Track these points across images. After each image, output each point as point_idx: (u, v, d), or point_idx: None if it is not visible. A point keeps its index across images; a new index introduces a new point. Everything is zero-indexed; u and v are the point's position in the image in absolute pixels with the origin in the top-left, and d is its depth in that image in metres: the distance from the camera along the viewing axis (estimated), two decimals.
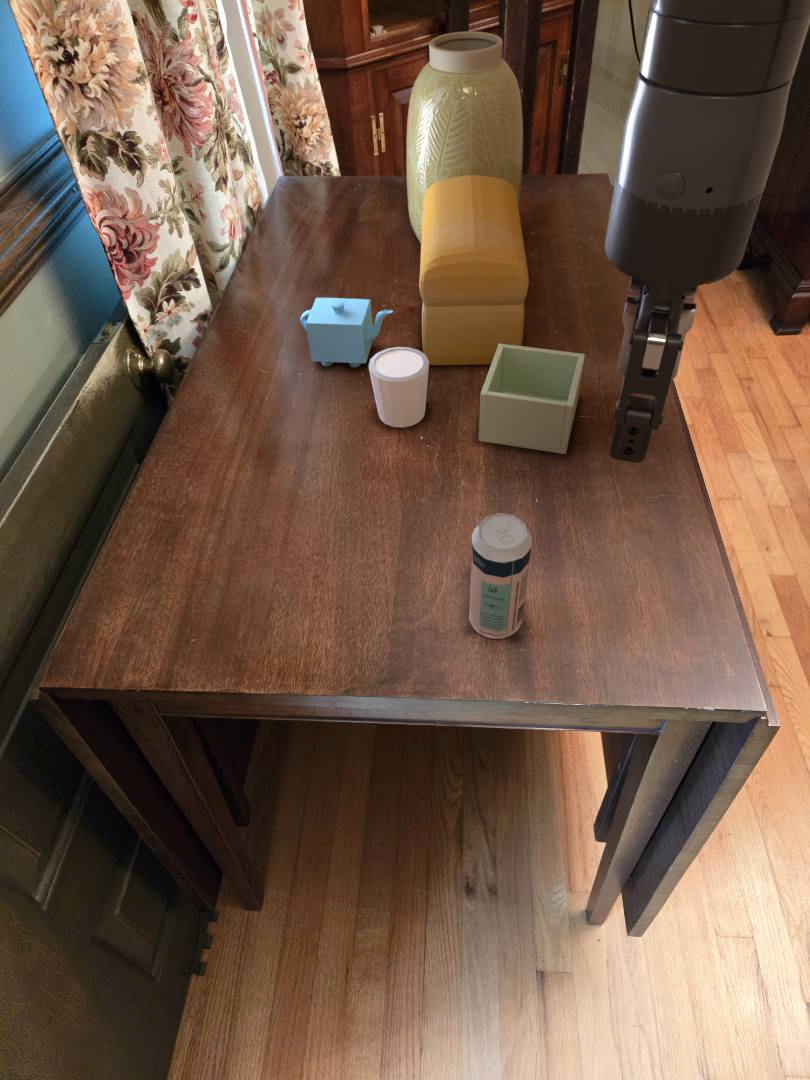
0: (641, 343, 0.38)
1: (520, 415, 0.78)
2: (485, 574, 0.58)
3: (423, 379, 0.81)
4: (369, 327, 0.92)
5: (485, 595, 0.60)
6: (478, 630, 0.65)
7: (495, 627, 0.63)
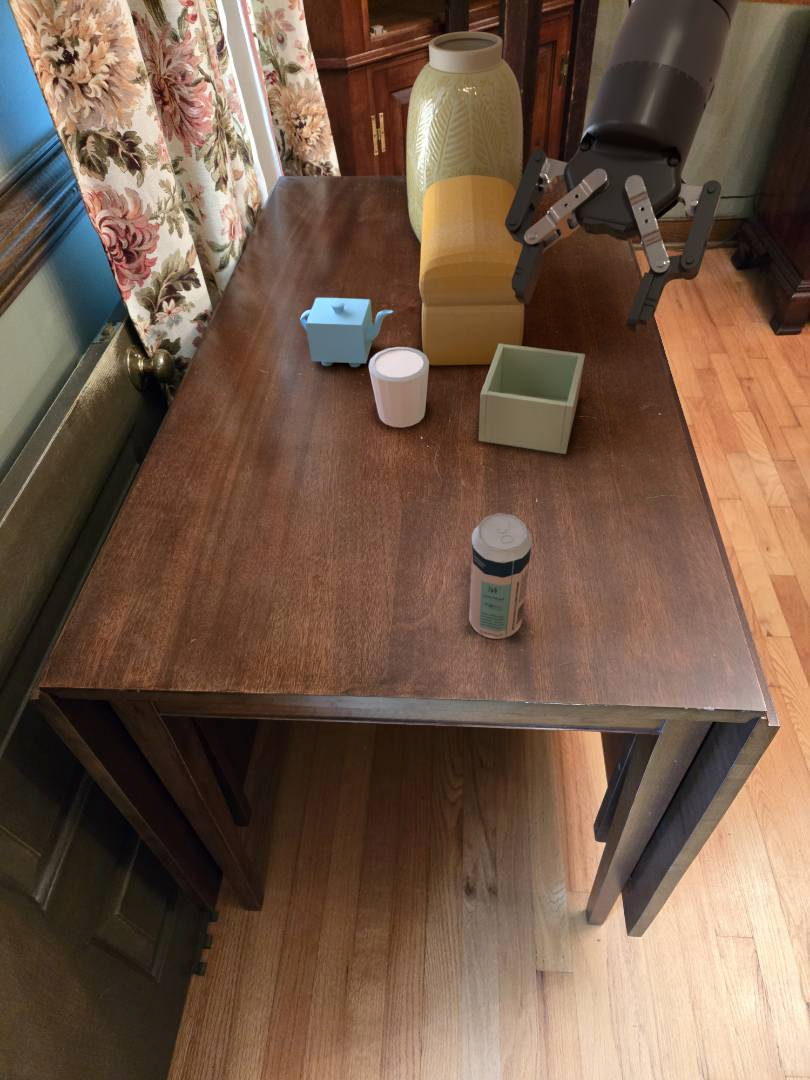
0: None
1: (520, 415, 0.78)
2: (485, 574, 0.58)
3: (423, 379, 0.81)
4: (369, 327, 0.92)
5: (485, 595, 0.60)
6: (478, 630, 0.65)
7: (495, 627, 0.63)
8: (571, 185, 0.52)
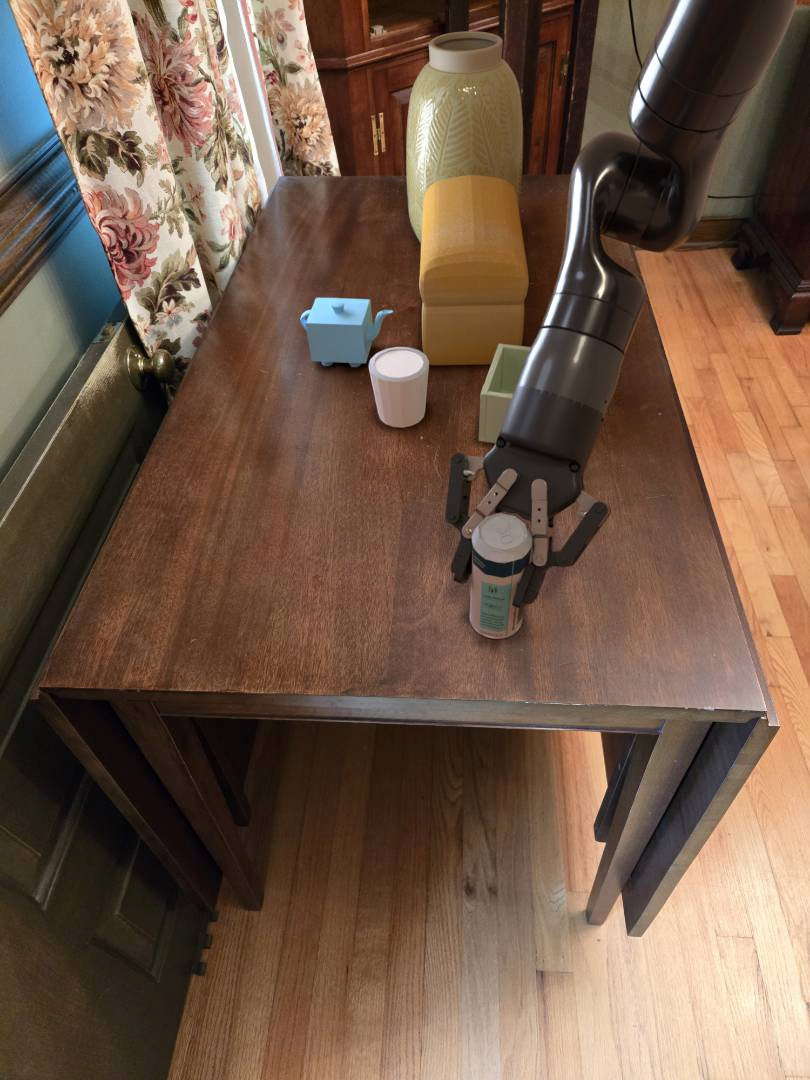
0: None
1: None
2: (485, 574, 0.58)
3: (423, 379, 0.81)
4: (369, 327, 0.92)
5: (485, 595, 0.60)
6: (478, 630, 0.65)
7: (495, 627, 0.63)
8: (488, 475, 0.59)
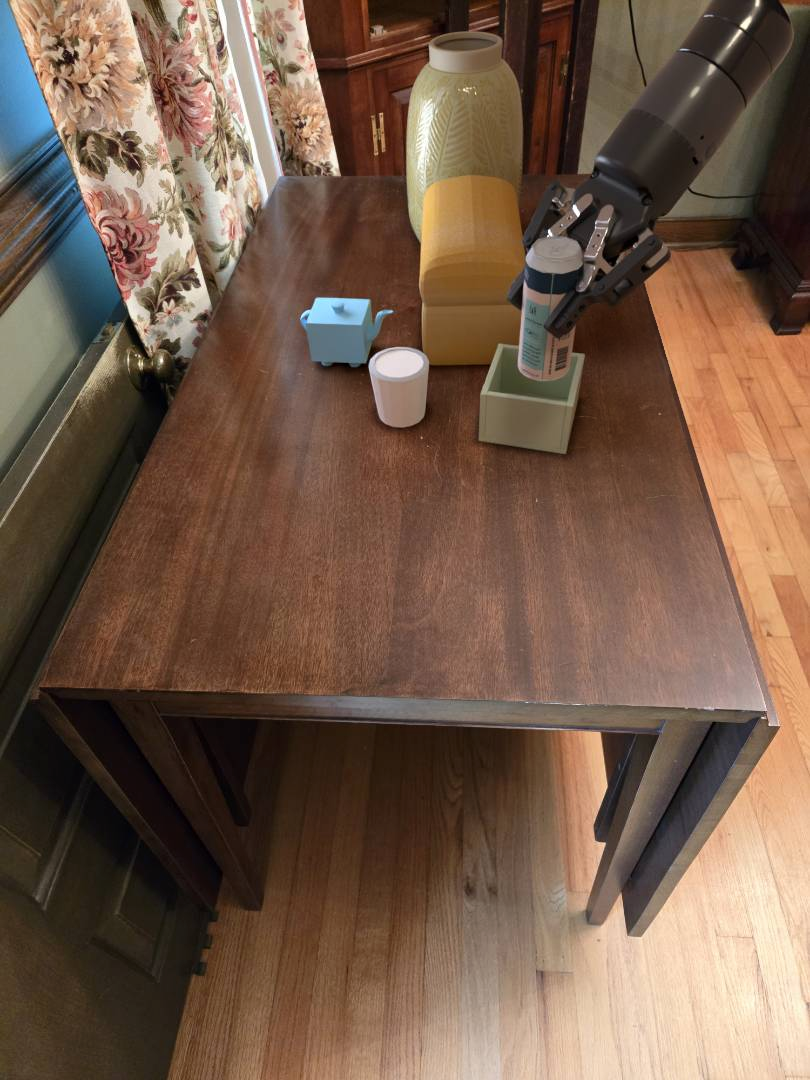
0: None
1: (520, 415, 0.78)
2: (528, 288, 0.61)
3: (423, 379, 0.81)
4: (369, 327, 0.92)
5: (527, 318, 0.63)
6: (520, 369, 0.67)
7: (532, 363, 0.65)
8: (572, 204, 0.61)
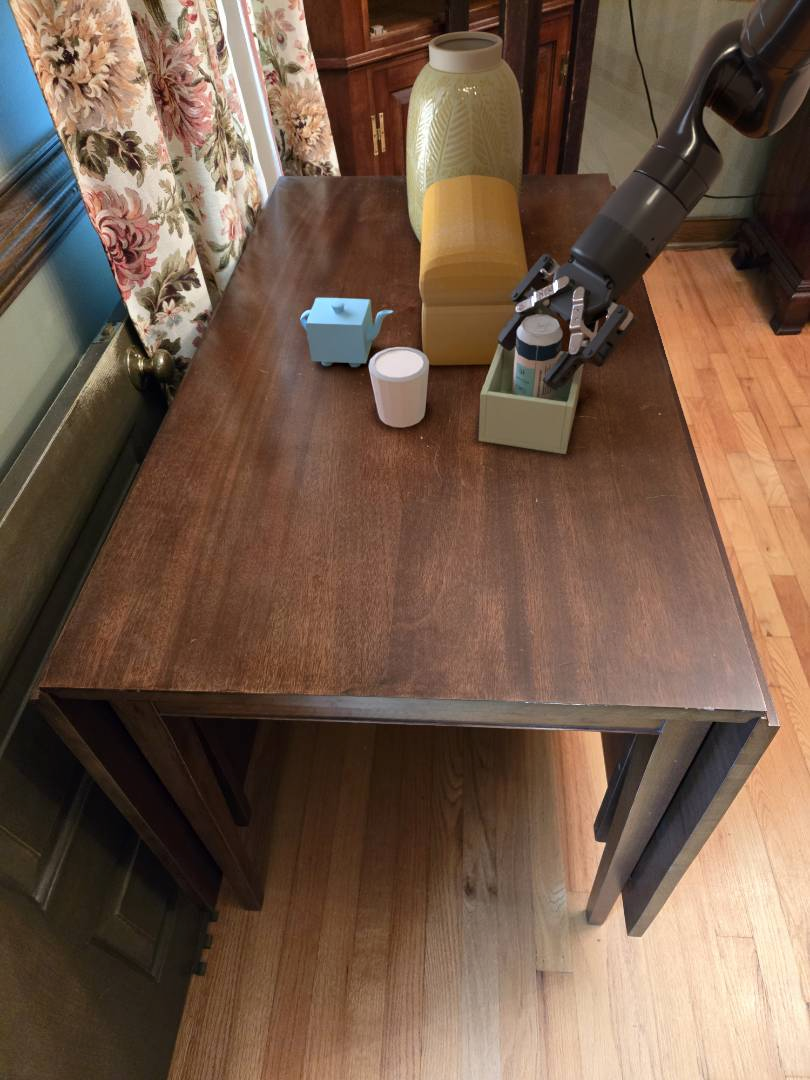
0: None
1: (520, 415, 0.78)
2: (518, 354, 0.77)
3: (423, 379, 0.81)
4: (369, 327, 0.92)
5: (517, 376, 0.79)
6: None
7: None
8: (553, 282, 0.77)
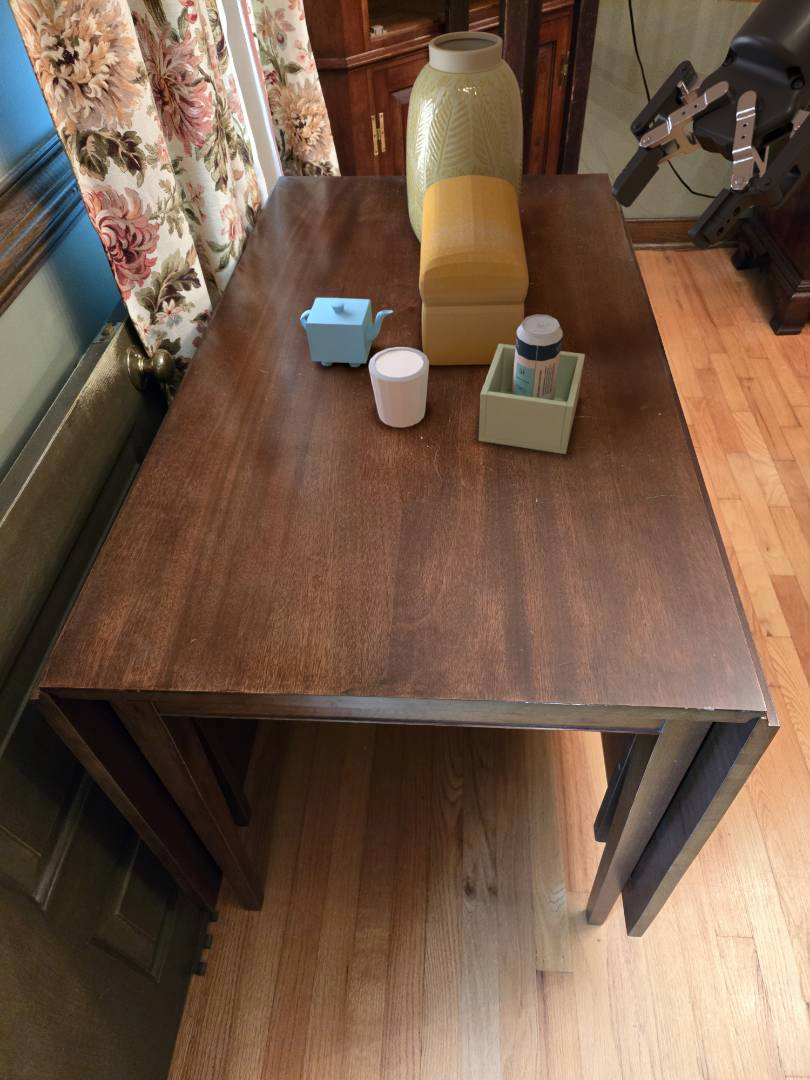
0: None
1: (520, 415, 0.78)
2: (518, 354, 0.77)
3: (423, 379, 0.81)
4: (369, 327, 0.92)
5: (517, 376, 0.79)
6: None
7: None
8: (699, 97, 0.54)
